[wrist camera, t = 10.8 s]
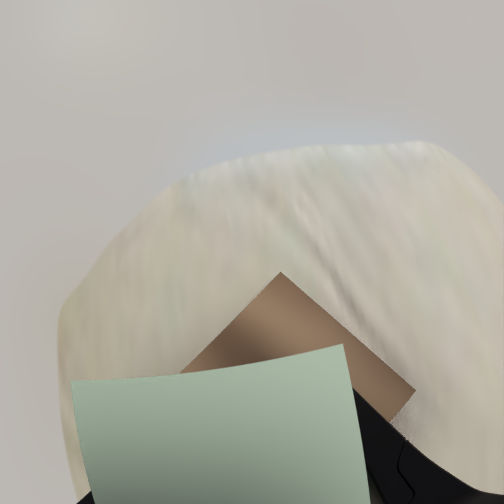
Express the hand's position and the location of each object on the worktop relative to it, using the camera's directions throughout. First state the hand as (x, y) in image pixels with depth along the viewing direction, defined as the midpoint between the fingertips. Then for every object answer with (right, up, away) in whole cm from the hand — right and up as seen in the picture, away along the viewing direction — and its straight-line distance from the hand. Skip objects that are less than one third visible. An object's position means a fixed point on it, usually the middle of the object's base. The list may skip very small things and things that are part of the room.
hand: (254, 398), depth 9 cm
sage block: (+1, -4, +6) cm, 7 cm away
